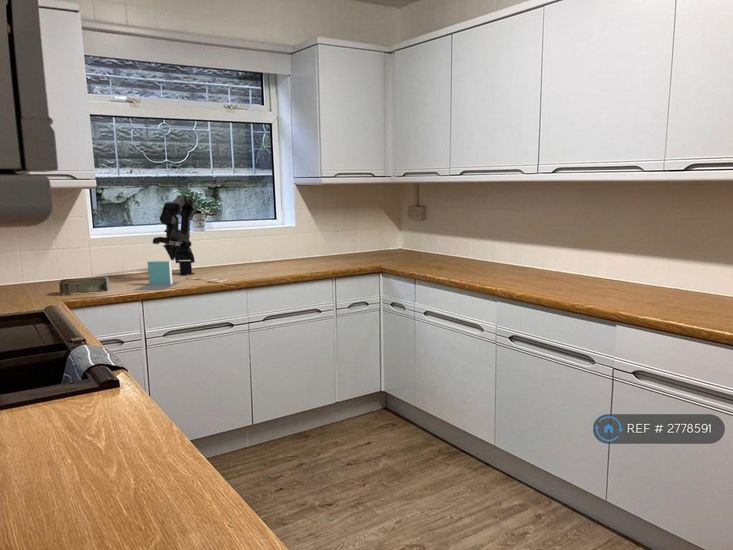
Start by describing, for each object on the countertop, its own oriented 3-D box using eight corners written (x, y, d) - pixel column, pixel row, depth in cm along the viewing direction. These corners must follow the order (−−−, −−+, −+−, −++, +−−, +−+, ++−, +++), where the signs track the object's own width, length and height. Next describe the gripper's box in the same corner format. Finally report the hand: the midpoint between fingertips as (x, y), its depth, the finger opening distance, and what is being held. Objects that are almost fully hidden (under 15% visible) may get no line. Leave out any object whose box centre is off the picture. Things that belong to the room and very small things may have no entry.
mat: (151, 283, 280) (151, 282, 280) (180, 283, 279) (180, 282, 279) (133, 291, 260) (133, 290, 260) (164, 290, 259) (164, 289, 259)
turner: (182, 281, 285) (182, 278, 285) (191, 278, 292) (191, 276, 291) (219, 282, 277) (219, 280, 277) (228, 280, 284) (227, 278, 284)
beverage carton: (108, 292, 259) (106, 278, 257) (59, 296, 252) (58, 281, 251) (109, 289, 266) (108, 275, 265) (62, 293, 260) (60, 278, 259)
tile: (151, 284, 275) (149, 260, 273) (172, 284, 275) (170, 260, 273) (149, 285, 272) (147, 261, 271) (170, 284, 272) (168, 261, 270)
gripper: (167, 223, 273) (167, 256, 272) (198, 228, 289) (198, 260, 287) (152, 226, 279) (151, 258, 278) (183, 230, 295) (183, 261, 293)
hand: (172, 259), depth 284 cm, fingers closed
